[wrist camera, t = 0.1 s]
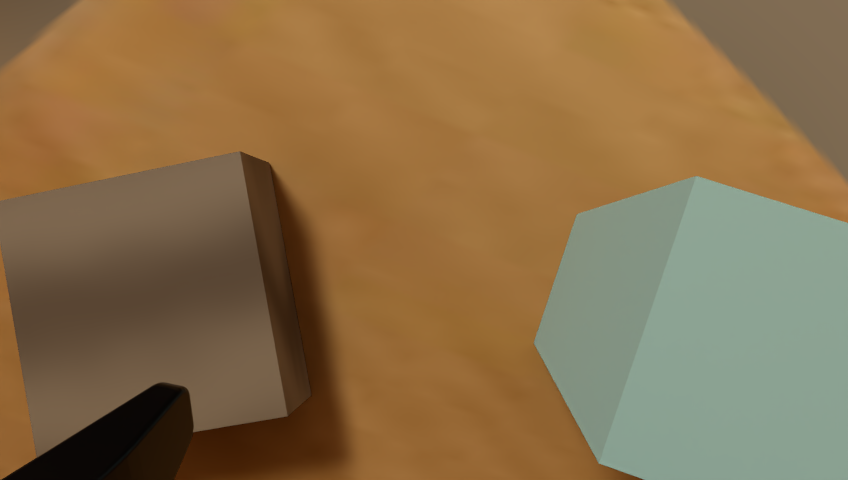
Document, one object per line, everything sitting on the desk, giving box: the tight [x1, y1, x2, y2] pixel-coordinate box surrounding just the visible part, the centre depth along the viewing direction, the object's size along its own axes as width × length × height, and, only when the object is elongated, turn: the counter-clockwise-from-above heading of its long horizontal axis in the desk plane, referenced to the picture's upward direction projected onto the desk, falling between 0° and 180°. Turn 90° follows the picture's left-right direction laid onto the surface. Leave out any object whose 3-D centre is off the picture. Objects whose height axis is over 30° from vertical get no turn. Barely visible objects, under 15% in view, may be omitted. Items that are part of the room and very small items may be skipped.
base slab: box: [0, 152, 311, 457], centre depth 23 cm, size 9×9×3 cm
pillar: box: [534, 176, 848, 480], centre depth 17 cm, size 5×5×13 cm
